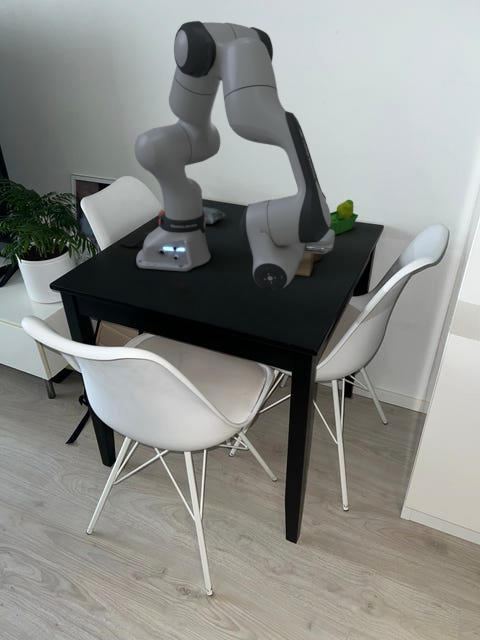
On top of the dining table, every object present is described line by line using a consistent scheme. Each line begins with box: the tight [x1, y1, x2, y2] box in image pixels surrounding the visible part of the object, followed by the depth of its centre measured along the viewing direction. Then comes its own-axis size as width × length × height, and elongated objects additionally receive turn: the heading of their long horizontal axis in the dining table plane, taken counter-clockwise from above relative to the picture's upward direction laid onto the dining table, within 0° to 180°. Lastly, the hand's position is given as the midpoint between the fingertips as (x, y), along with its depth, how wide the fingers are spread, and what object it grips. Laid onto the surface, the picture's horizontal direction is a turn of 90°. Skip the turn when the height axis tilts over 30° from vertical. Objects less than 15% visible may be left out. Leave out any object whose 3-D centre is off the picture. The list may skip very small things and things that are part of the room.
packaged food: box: [203, 206, 226, 225], centre depth 179 cm, size 9×12×5 cm
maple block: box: [294, 252, 314, 277], centre depth 144 cm, size 6×6×11 cm
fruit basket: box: [330, 199, 359, 236], centre depth 169 cm, size 11×9×11 cm
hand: (297, 225), depth 127 cm, fingers open, 8 cm apart
